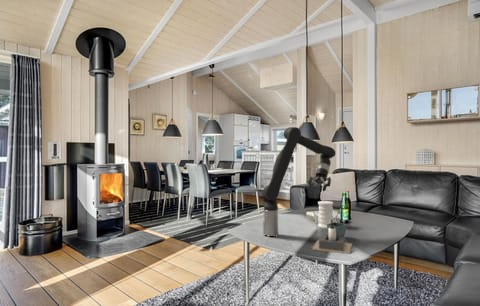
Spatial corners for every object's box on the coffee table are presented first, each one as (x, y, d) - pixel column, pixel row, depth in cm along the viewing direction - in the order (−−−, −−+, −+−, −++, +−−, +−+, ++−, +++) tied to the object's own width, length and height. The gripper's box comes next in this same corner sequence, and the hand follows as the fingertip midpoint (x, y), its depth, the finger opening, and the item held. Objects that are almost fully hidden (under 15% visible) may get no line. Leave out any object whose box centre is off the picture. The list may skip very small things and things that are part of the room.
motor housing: (312, 249, 169) (312, 240, 169) (317, 241, 184) (317, 233, 184) (349, 253, 161) (349, 244, 161) (352, 245, 176) (351, 236, 176)
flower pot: (338, 241, 184) (338, 226, 184) (326, 238, 192) (326, 224, 192) (347, 238, 190) (346, 224, 190) (335, 235, 197) (334, 222, 197)
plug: (328, 246, 172) (327, 220, 172) (329, 244, 175) (328, 218, 175) (335, 247, 170) (335, 220, 170) (336, 244, 174) (335, 219, 174)
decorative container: (337, 227, 218) (337, 202, 218) (324, 229, 214) (324, 204, 214) (327, 224, 229) (327, 200, 229) (314, 225, 225) (314, 201, 225)
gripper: (311, 167, 204) (304, 186, 194) (331, 167, 196) (326, 187, 186) (314, 174, 208) (308, 193, 199) (334, 175, 200) (329, 194, 190)
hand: (316, 190), depth 192 cm, fingers open, 8 cm apart
